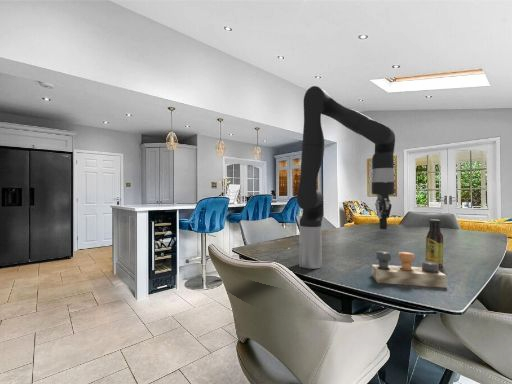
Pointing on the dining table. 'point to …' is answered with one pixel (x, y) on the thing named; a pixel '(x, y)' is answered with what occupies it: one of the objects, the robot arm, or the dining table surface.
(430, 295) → the dining table surface
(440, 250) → the sauce bottle
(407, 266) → the middle knob
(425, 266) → the right knob
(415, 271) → the knob mount
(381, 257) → the left knob
